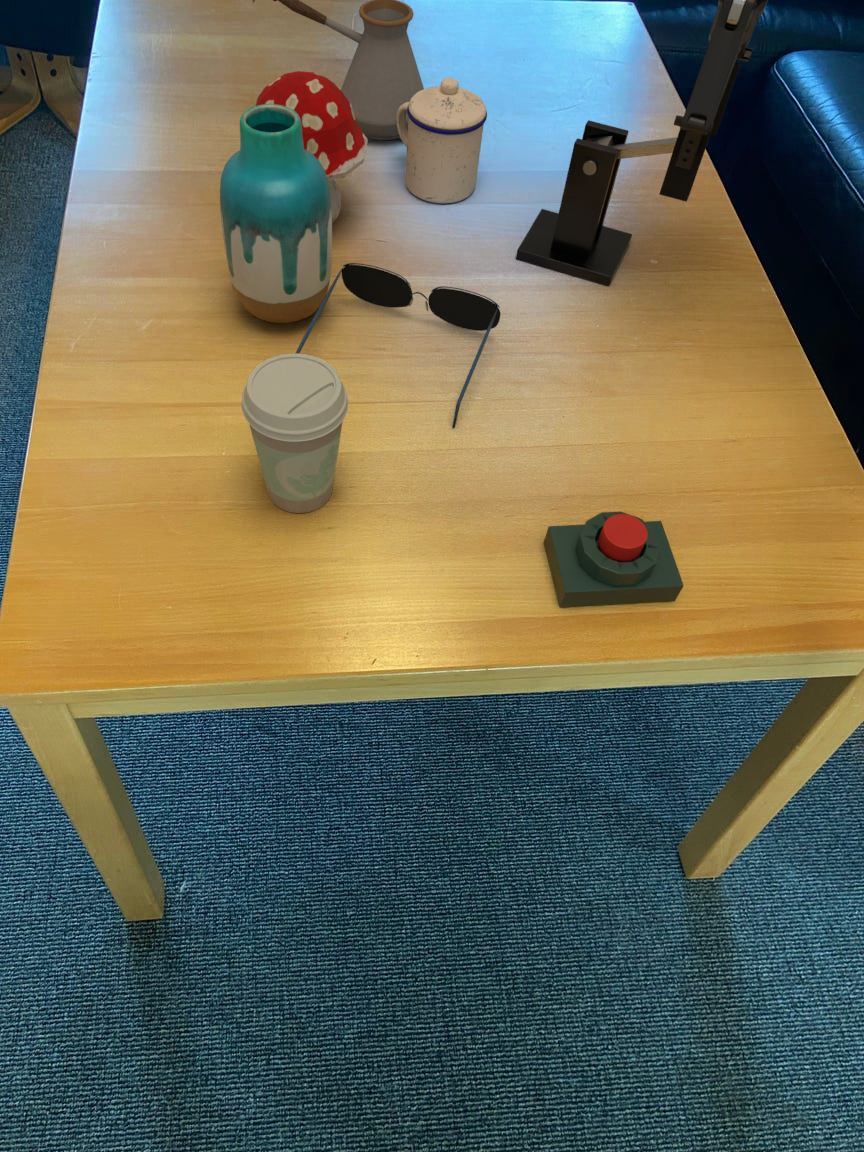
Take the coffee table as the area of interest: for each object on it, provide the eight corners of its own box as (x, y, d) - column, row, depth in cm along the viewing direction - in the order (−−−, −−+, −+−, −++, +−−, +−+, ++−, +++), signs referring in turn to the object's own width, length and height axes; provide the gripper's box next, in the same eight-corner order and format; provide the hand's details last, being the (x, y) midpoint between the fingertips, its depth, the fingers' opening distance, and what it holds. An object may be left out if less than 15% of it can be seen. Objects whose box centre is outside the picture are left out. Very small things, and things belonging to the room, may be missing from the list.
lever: (710, 142, 86) (710, 116, 84) (700, 166, 84) (699, 140, 82) (592, 156, 92) (589, 132, 90) (578, 179, 89) (576, 155, 88)
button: (635, 526, 72) (641, 512, 70) (646, 560, 70) (653, 547, 68) (593, 528, 71) (598, 514, 70) (603, 562, 70) (609, 549, 68)
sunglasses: (498, 335, 90) (504, 298, 85) (454, 442, 84) (458, 408, 79) (344, 294, 92) (342, 256, 88) (292, 395, 86) (286, 359, 82)
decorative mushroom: (254, 258, 95) (240, 116, 82) (240, 187, 102) (226, 47, 90) (377, 248, 97) (382, 108, 84) (355, 179, 104) (357, 41, 92)
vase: (226, 338, 88) (200, 147, 72) (238, 274, 93) (217, 84, 77) (329, 343, 88) (327, 155, 72) (335, 279, 94) (334, 91, 77)
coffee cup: (262, 533, 74) (250, 431, 64) (244, 462, 79) (230, 356, 69) (358, 515, 76) (360, 413, 66) (335, 447, 80) (334, 341, 70)
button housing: (653, 536, 76) (668, 506, 73) (675, 601, 72) (691, 572, 69) (543, 542, 75) (552, 512, 72) (559, 607, 71) (570, 579, 68)
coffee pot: (425, 104, 115) (435, -30, 102) (426, 150, 108) (438, 14, 96) (265, 96, 114) (255, -39, 101) (257, 142, 108) (246, 4, 95)
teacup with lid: (492, 186, 105) (507, 83, 95) (442, 215, 101) (452, 111, 91) (421, 146, 109) (429, 43, 99) (370, 172, 105) (373, 68, 95)
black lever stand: (629, 243, 100) (664, 129, 89) (609, 286, 95) (643, 172, 84) (539, 218, 102) (563, 103, 91) (515, 259, 97) (537, 143, 86)
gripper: (760, -161, 75) (679, 98, 93) (700, -62, 62) (620, 216, 80) (847, -145, 74) (748, 114, 92) (804, -41, 61) (699, 237, 79)
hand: (688, 162), depth 86 cm, fingers open, 13 cm apart
